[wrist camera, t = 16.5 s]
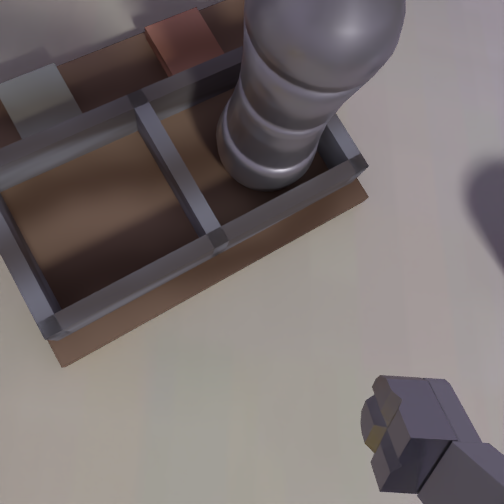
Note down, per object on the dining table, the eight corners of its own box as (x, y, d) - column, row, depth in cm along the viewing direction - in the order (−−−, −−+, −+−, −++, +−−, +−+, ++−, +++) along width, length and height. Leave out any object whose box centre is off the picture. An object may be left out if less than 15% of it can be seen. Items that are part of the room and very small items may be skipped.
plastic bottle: (281, 100, 34) (422, -233, 15) (319, 184, 33) (523, -53, 14) (198, 126, 33) (232, -204, 13) (235, 215, 32) (331, -2, 12)
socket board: (-62, 123, 31) (-96, 90, 27) (240, 3, 36) (248, -39, 32) (65, 367, 29) (48, 369, 25) (363, 201, 34) (387, 182, 31)
